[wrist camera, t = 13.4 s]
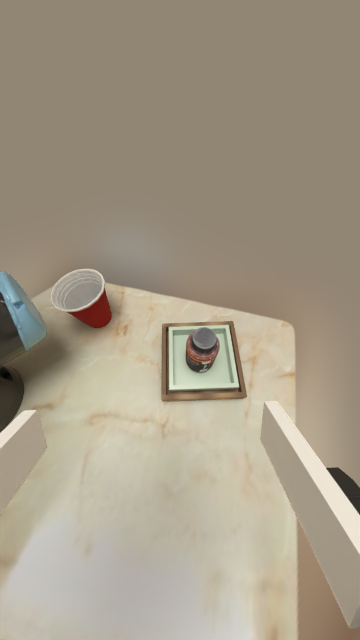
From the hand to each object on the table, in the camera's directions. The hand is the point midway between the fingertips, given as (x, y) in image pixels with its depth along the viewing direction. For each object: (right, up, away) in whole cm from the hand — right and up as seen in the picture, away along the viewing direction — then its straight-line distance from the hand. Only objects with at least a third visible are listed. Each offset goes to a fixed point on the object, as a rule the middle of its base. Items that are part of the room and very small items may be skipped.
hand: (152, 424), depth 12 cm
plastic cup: (-18, +7, +38) cm, 43 cm away
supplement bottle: (+6, -2, +31) cm, 31 cm away
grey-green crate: (+6, -3, +31) cm, 32 cm away
